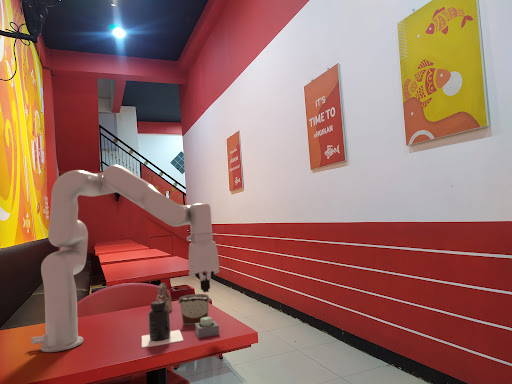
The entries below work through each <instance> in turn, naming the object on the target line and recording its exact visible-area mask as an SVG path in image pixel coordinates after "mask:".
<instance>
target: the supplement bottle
mask: <svg viewBox="0 0 512 384" xmlns="http://www.w3.org/2000/svg"><path fill="white" fill-rule="evenodd" d="M165 307H166V305H165V301H156V300H155V301H152V302H150V311H149V312H148V315H147V316H148V317H147V318H148V332H149V334H148V335H150V340H152V341H162V340H165V339H168V338H169V337H170V331H171V325H170V324H171V322H170V311H168V310H167V309H166V308H165Z"/></svg>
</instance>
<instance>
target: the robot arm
mask: <svg viewBox="0 0 512 384" xmlns="http://www.w3.org/2000/svg"><path fill="white" fill-rule="evenodd" d="M113 193H114V194H115V193H117V194H119V195H120V196H123V197H124V198H126V199H128V200H129V201H131V202H132V203H134V205H137V206H138V207H140V208H141V209H143V210H144V211H146V212H148V213H149V214H150V215H152V216H154V217H155V218H157V219H159V220H160V221H162V222H164V224H167V225H169V226H170V227H171V226H172V227H182V226H186V225H187V226H188V225H189V227H190V228H189V229H190V235H189V236H186V241H189V242H191V243H189V245H188V268H189V272H188V276H190V277H196V278H197V279H198V280H199V281H200V282H199V284H200V290H201V291H202V292H203V293H209V292H210V291H209V290H210V289H211V283H210V280H211V278H212V277H213V276H214V275H216V274H218V273H219V274H220V260H219V252H218V247H217V244H216V241H214V240H213V239H214V237H213V225H212V211H211V206H210V204H208V203H205V202H203V203H194V204H191V205H184V204H179V203H178V202H176V201H174V200H173V199H170V198H169V197H167V196H166V195H164V194H162V193H161V192H159V191H158V190H157V189H156V187H155V186H154V185H153V184H151V183H150V182H148V181H146V180H144V179H143V178H141V177H140V176H138V175H136V174H134V173H133V172H132V171H130V170H129V169H128V168H126V167H123V166H122V165H118V164H112V165H109V166H107V167H106V168H104V170H103V172H97V173H92V172H89V171H87V170H86V171H85V170H83V169H82V170H81V169H75V170H74V169H73V170H70V171H66V172H65V173H62V174H61V175H60V176H59V177H58V178H57V179H56V180H55V181H54V184H53V186H52V189H51V202H50V213H49V221H48V222H49V223H48V233H47V234H48V241H49V243H50V244H51V245H52V246H54V247H56V248H57V247H58V248H60V249H59V250H57V251H54V252H52V253H50V254H48V255H47V256H46V257H45V258H44V259H43V260H42V262H41V267H40V271H41V278H42V283H43V291H44V310H45V311H44V314H45V315H44V316H45V318H44V319H45V334H43V335H42V336H32V337H31V340H30V341H31V342H30V343H31V344H33V345H38V344H41V345H40V351H41V352H43V353H55V352H56V353H57V352H61V351H66V350H67V351H68V350H70V349H73V348H76V347H78V346H79V345H82V343H83V342H84V337H82V336H80V335H79V329H78V326H79V325H78V322H79V321H78V298H77V295H78V294H77V285H76V281H75V277H74V276H75V275H77V274H79V273H81V272H82V271H83V269H84V268H85V265H86V262H87V253H88V244H89V243H88V241H89V232H88V229H87V226H86V224H85V223H84V222H83V221H81V220H80V219H78V218H79V217H78V216H79V215H78V214H79V202H78V197H79V196H83V197H84V196H85V197H97V196H98V197H99V196H103V195H110V194H113ZM203 273H205V278H204V274H203Z"/></svg>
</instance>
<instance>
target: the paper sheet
mask: <svg viewBox="0 0 512 384" xmlns="http://www.w3.org/2000/svg"><path fill="white" fill-rule="evenodd" d="M180 342H184V338H183V335H182V333H181V330H180V329H176V330H170V337H169V338H168V339H165V340H162V341H152V340H150V335H149V334H144V335H141V349H143V348H149V347H157V346H162V345H169V344H174V343H175V344H176V343H180Z"/></svg>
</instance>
